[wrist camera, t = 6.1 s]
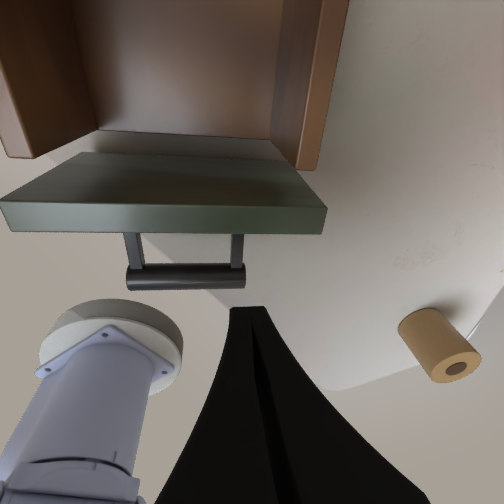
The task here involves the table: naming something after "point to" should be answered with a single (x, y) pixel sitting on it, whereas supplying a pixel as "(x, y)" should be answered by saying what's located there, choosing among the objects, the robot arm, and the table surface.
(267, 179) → the drawer
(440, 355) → the paper towel roll
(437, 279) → the table surface
